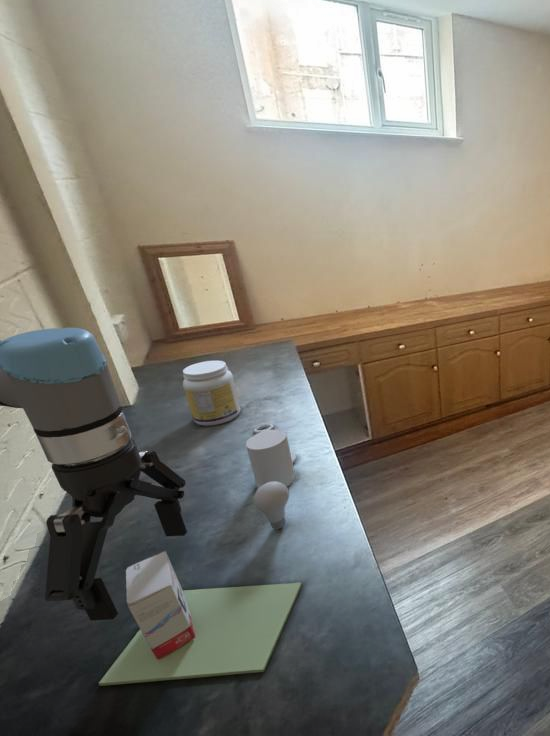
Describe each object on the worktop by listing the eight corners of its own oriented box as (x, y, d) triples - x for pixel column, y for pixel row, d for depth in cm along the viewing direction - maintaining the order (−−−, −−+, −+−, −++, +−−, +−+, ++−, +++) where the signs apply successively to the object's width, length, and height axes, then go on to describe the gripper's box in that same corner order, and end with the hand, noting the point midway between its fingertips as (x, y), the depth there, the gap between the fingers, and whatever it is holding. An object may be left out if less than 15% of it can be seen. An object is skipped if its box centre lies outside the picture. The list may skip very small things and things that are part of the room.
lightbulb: (287, 512, 87) (278, 471, 83) (300, 526, 83) (291, 483, 79) (257, 528, 82) (245, 486, 78) (269, 544, 79) (257, 500, 75)
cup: (302, 471, 99) (293, 430, 95) (281, 494, 92) (271, 450, 88) (271, 469, 100) (262, 428, 96) (248, 491, 93) (237, 447, 88)
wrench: (277, 472, 100) (299, 463, 103) (275, 467, 99) (298, 458, 102) (252, 430, 116) (272, 424, 119) (250, 425, 115) (271, 419, 119)
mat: (99, 686, 56) (98, 683, 55) (169, 593, 69) (169, 591, 68) (264, 671, 58) (263, 669, 58) (302, 584, 71) (301, 582, 71)
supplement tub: (203, 409, 126) (189, 361, 120) (247, 405, 130) (235, 357, 124) (187, 430, 115) (170, 377, 109) (235, 424, 119) (221, 373, 113)
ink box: (196, 639, 61) (174, 584, 57) (153, 664, 58) (126, 608, 54) (188, 600, 67) (167, 548, 63) (148, 620, 64) (124, 566, 59)
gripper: (23, 524, 39) (98, 662, 47) (190, 401, 62) (221, 507, 70) (-64, 527, 38) (27, 667, 46) (138, 402, 61) (175, 509, 69)
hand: (144, 571), depth 58 cm, fingers open, 13 cm apart
